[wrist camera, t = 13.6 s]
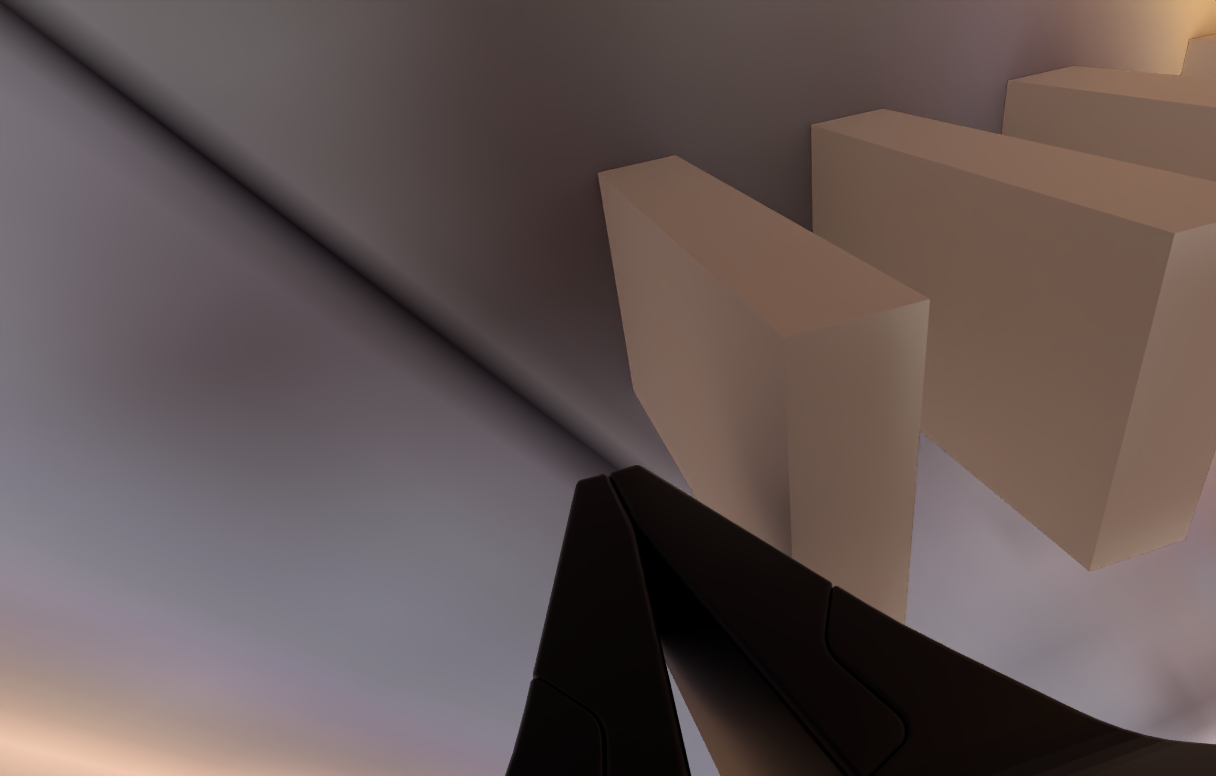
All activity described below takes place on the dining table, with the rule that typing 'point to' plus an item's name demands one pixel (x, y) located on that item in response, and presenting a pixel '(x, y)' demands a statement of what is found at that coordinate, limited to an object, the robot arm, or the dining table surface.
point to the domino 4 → (1201, 57)
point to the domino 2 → (1119, 116)
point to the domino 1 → (773, 371)
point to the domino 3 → (1044, 316)
